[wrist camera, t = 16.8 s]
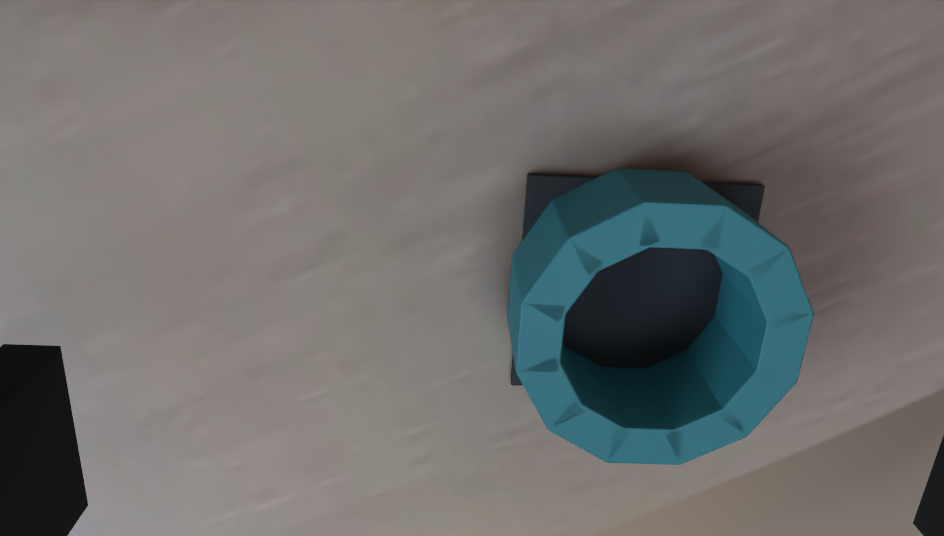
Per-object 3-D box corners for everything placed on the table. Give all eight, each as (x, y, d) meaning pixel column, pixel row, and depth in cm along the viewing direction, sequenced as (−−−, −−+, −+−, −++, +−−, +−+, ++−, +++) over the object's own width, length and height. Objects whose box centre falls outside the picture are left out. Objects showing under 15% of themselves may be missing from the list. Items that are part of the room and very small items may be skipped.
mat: (510, 381, 34) (511, 385, 34) (527, 172, 31) (528, 175, 30) (720, 388, 35) (723, 393, 34) (761, 183, 31) (765, 186, 31)
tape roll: (501, 394, 34) (508, 460, 29) (518, 163, 30) (530, 196, 25) (733, 403, 34) (776, 468, 30) (781, 175, 30) (839, 210, 26)
